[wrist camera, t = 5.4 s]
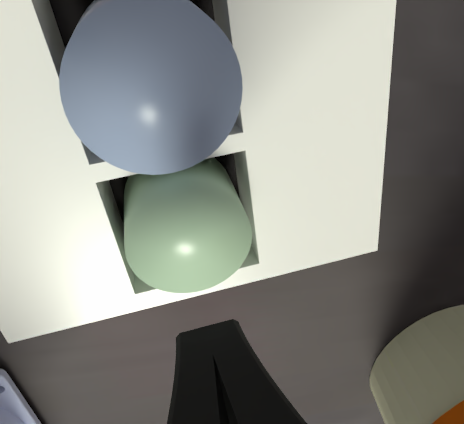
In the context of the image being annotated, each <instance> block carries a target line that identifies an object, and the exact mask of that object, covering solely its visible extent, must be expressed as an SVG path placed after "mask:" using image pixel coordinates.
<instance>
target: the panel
mask: <svg viewBox="0 0 464 424" xmlns="http://www.w3.org/2000/svg"><path fill="white" fill-rule="evenodd" d="M212 4H213V12H214V19H215V23H216V24H217V25H218V26H219V27H220V28H221V30H222V31H223V32H224V33H225V35H226V36H227V38H228V39H229V41H230V42H231V44H232V46H233V48H234V51H235V53H236V55H237V58H238V61H239V64H240V69H241V74H242V87H243V90H242V101H241V106H240V111H239V114H238V117H237V119H236V122H235V124H234V126H233V128H232V130H231V132H230V133H229V135H228V136H227V138H226V139H225V141H224V142H223V143H222V144H221V145H220V147H219V148H218V149H217V150H215V151H214V152H213V153H212V154H211V155H210V156H208V157H207V158H206V159H208V158H213V157H217V156H222V155H227V154H231V153H233V154H234V161H235V168H236V175H237V182H238V190H239V197H240V201H241V203H242V205H243V207H244V210H245V212H246V214H247V216H248V219H249V221H250V224H251V229H252V243H251V247H250V250H249V253H248V255H247V257H246V259H245V261H244V262H243V264H242V265H241V266H240V268H239V269H238V270H237V271H236V272H235V273H234V274H233V275H231V276H230V277H229V278H228V279H226V280H225V281H223V282H221V283H220V284H218V285H216V286H214V287H211V288H209V289H205V290H202V291H198V292H192V293H171V292H166V291H162V290H159V289H156V288H154V287H151V286H149V285H148V284H146V283H145V282H143V281H142V280H141V279H139V278H138V277H137V276H136V275H135V273H134V272H133V271H132V269H131V268H130V266H129V264H128V262H127V259H126V256H125V248H124V225H123V222H122V219H121V216H120V213H119V210H118V207H117V204H116V201H115V198H114V195H113V192H112V189H111V185H110V182H109V180H111V179H116V178H120V177H125V176H130V175H134V174H139V173H133V172H129V171H126V170H123V169H120V168H118V167H115V166H113V165H111V164H109V163H107V162H106V161H104V160H102V159H101V158H99V157H98V156H97V155H95V154H94V153H93V152H92V151H90V150H89V149H88V148H87V147H86V146H85V145H84V144H83V143H82V141H81V140H80V139H79V137H78V136H77V135H76V134H75V132H74V130H73V129H72V127H71V125H70V124H69V121H68V119H67V117H66V115H65V112H64V109H63V105H62V102H61V96H60V89H59V74H60V67H61V62H62V58H63V55H64V51H65V46H64V43H63V40H62V37H61V34H60V31H59V28H58V25H57V22H56V19H55V16H54V13H53V10H52V7H51V4H50V1H49V0H0V331H1V332H2V334H3V336H4V337H5V339H6V340H7V342H8V343H12V342H16V341H20V340H24V339H28V338H32V337H36V336H40V335H44V334H48V333H52V332H56V331H60V330H63V329H67V328H71V327H75V326H79V325H83V324H87V323H91V322H95V321H99V320H103V319H107V318H111V317H115V316H119V315H123V314H127V313H131V312H135V311H139V310H143V309H147V308H151V307H155V306H159V305H163V304H167V303H171V302H175V301H179V300H183V299H187V298H190V297H194V296H198V295H202V294H206V293H210V292H214V291H218V290H222V289H226V288H230V287H234V286H238V285H242V284H246V283H250V282H254V281H258V280H262V279H266V278H270V277H274V276H278V275H282V274H286V273H290V272H294V271H298V270H302V269H306V268H310V267H314V266H317V265H321V264H325V263H329V262H333V261H337V260H341V259H345V258H349V257H353V256H357V255H361V254H365V253H369V252H373V251H377V250H378V236H379V223H380V210H381V196H382V183H383V170H384V157H385V143H386V130H387V117H388V103H389V90H390V77H391V63H392V50H393V37H394V24H395V10H396V0H212Z"/></svg>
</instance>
